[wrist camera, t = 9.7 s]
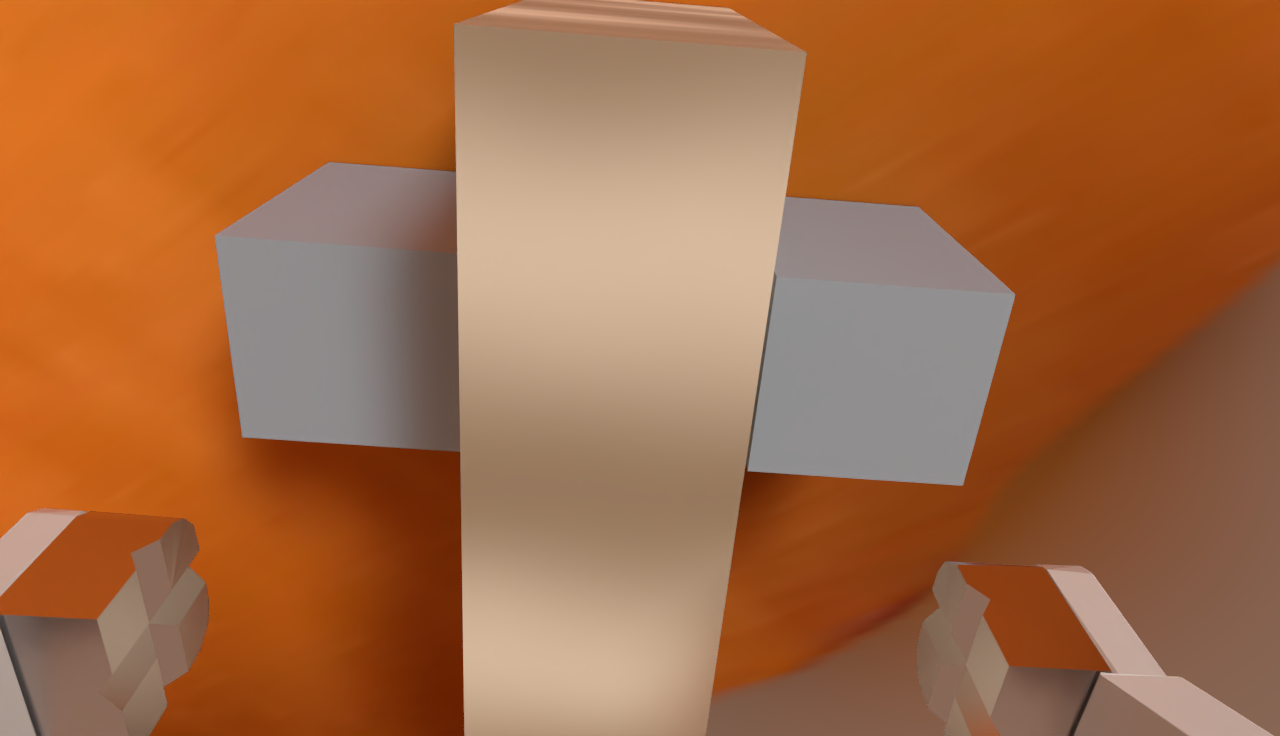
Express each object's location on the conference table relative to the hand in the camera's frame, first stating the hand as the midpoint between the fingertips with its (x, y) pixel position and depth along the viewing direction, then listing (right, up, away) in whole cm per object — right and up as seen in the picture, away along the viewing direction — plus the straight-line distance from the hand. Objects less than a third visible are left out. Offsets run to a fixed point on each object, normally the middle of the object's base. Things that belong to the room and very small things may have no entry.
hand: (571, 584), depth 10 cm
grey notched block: (0, +5, +12) cm, 13 cm away
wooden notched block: (0, +5, +12) cm, 13 cm away
